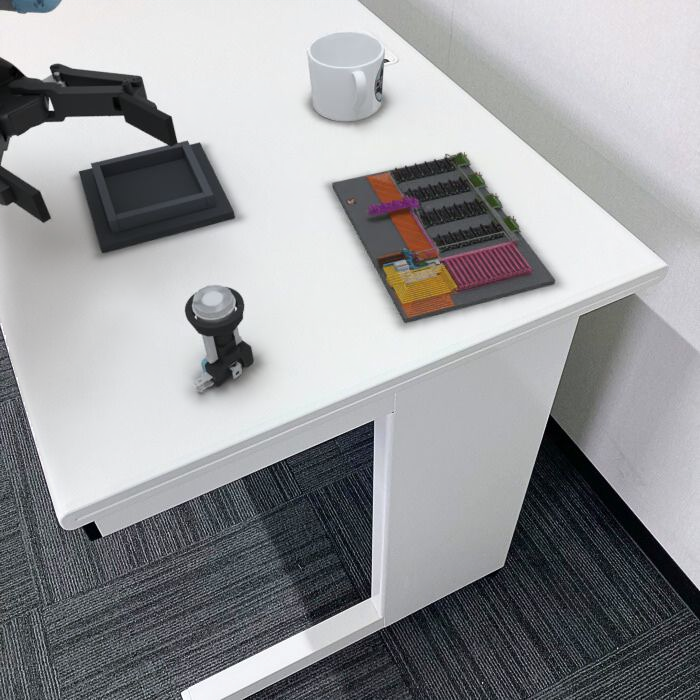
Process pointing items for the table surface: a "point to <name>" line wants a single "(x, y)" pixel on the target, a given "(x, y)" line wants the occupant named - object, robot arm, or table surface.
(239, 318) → the push button
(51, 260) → the table surface
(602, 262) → the table surface
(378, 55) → the mug
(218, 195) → the docking pad
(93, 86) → the robot arm
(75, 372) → the table surface
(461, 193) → the circuit board
